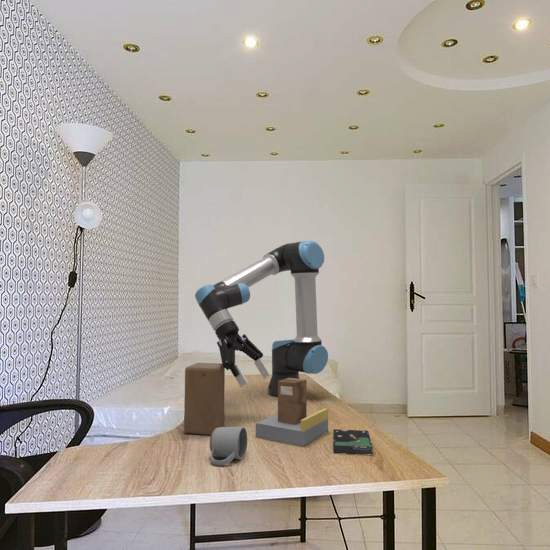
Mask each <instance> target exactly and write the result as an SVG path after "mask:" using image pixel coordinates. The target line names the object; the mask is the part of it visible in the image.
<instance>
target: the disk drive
mask: <svg viewBox="0 0 550 550" xmlns="http://www.w3.org/2000/svg"><path fill="white" fill-rule="evenodd" d="M332 433H333V434H332V439H333V440H332V442H333V443H332V445H333V446H332V448H333V449H332V451H333V454H335V453H349V454H348V455H355V454H372V455H373V443H372V439H371V437H370V432H369V430H362V429H360V430H357V429H356V430H355V429H348V430H342V429H335V428H334V429H333V431H332Z"/></svg>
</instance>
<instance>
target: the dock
mask: <svg viewBox="0 0 550 550" xmlns="http://www.w3.org/2000/svg"><path fill="white" fill-rule="evenodd" d="M326 432H327V433H329V408H327V407H326V408H323V409H320V410H319V411H316V412H314V413H312V414H311V415H308V414H307V417H306V418H304V419H302V420H301V422H300V423H298V424H296V425H293V424H287V423H281V422H278V413H275V414H274V415H271V416H269V417H267V418H264V419H262V420H260V421H257V422H255V438H259V439H265V440H269V441H273V442H274V441H275V442H280V443H285V444H289V445H294V446H299V447H305V446H307V445H309V444H310V443H312V442H314V441H315V440H317V439H319V438H320V437H322V436H324V435H326V434H327V433H326ZM323 434H324V435H323Z"/></svg>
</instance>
